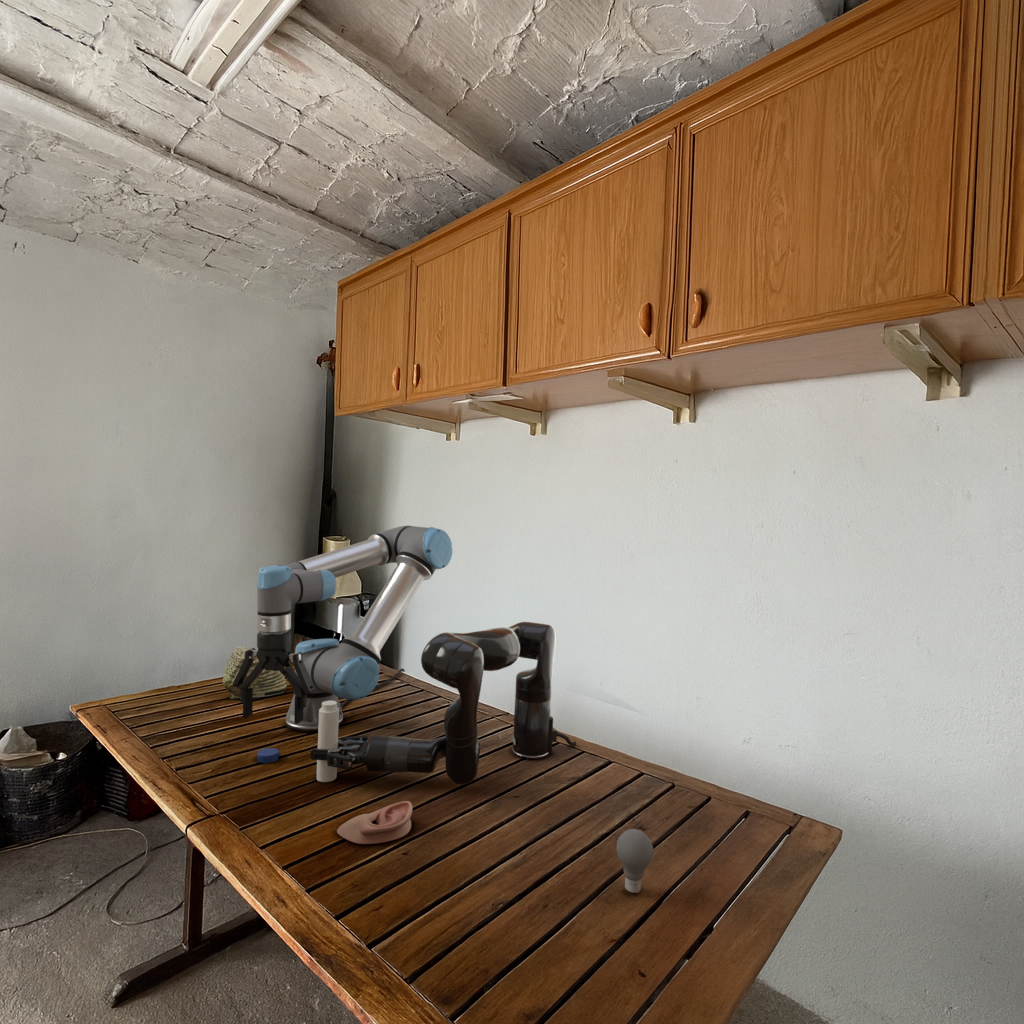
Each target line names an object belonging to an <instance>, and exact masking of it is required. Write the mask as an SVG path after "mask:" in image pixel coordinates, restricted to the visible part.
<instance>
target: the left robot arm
mask: <svg viewBox="0 0 1024 1024" xmlns="http://www.w3.org/2000/svg"><path fill="white" fill-rule="evenodd" d="M452 557H453V542H452V540H451V538H450V536H449V534H448V533H447V532H446V531H445V530H444V529H441V528H437V527H434V526H429V527H425V526H414V525H402V526H397V527H393V528H390V529H386V530H383V531H380V532H378V533H374V534H371V535H370V536H368V539H366V540H363V541H360V542H357V543H354V544H350V545H346V546H344V547H341V548H336V549H334V550H331V551H327V552H324V553H321V554H318V555H314V556H312V557H309V558H305V559H302V560H299V561H295V562H291V563H289V564H288V563H287V564H285V565H283V564H273V565H268V566H263V567H261V568H260V569H259V570H258V574H257V584H256V589H257V617H256V618H257V620H256V622H257V625H256V630H257V631H258V633H257V634H256V648H255V647H251V648H250V649H249V650H247V651H245V658H244V661H243V663H242V665H241V667H240V669H239V671H238V674H237V676H236V678H235V680H234V682H233V687H238V688H239V689H240V698H239V701H240V703H241V704H242V719H247V718H249V717H250V716H252V715H253V701H254V699H253V698H254V697H253V688H248V687H250V685H251V684H252V683H253V682H254V680H255V679H256V678H257V677H258V676H259V674H260V673H261V672H262V671H263V670H264V669H265V670H273V671H280V672H281V674H282V675H283V676H284V677H285V680H286V681H287V682H288V684H290V686H291V687H292V689H293V695H292V696H293V697H292V699H291V702H290V704H289V708H288V711H287V713H286V715H285V726H286V728H287V729H289V730H291V731H294V732H295V731H296V732H301V733H316V732H317V733H318V727H319V709H320V708H322V702H324V701H336V702H337V707H338V708H339V725H338V727H339V726H340V725H342V723H343V722H344V714H343V709H342V707H344V706H345V705H346V704H347V703H348V702H349V701H358V700H361V699H364V698H366V697H367V696H369V695H370V694H371V693H372V692H373V691H374V689H377V688H379V687H382V686H383V685H386V684H388V683H389V682H391V681H393V680H394V679H396V678H397V677H398V676H399V675H400V674H401V673H402V672H403V673H404V672H405V671H406V670H405V668H404V667H403V668H402V667H401V668H400V669H399V670H398V672H399V673H398V672H396V673H395V674H394V675H392V676H391V677H390V678H388V679H386V680H384V681H382V682H380V683H378V682H379V680H380V675H379V674H380V673H381V672H380V671H381V670H380V665H379V664H380V662H381V660H382V657H381V650H382V649H383V647H384V645H385V644H386V642H387V640H388V639H389V637H390V636H391V634H392V633H393V630H394V629H395V627H396V625H397V624H398V623H399V621H400V619H401V617H402V615H403V614H404V612H405V611H406V609H407V607H408V606H409V604H410V602H412V599H413V598H414V596H415V594H416V593H417V591H418V589H419V588H420V586H421V585H422V583H423V581H427V580H431V578H432V577H433V575H434V573H435V572H436V570H442V569H444V568H446V567H447V566H448V565H449V564H450V562H451V560H452ZM387 564H396V565H397V566H396V567H395V568H394V569H393V571H392V573H391V575H390V576H389V578H388V579H387V581H386V582H385V584H384V585H383V587H382V589H381V591H380V592H379V593H378V595H377V596H376V598H375V600H374V601H373V603H372V604H371V605H370V608H369V609H368V611H367V612H366V613H365V615H364V617H363V618H362V620H361V622H360V623H359V625H358V626H357V628H356V629H355V630H354V632H353V634H352V635H350V636H347V637H344V638H343V639H342V640H341V642H340V641H339V639H337V638H318V639H308V640H304V641H300V642H299V643H297V644H296V646H295V650H294V653H291V650H290V649H291V637H292V635H291V634H292V633H291V631H290V630H291V629H292V605H297V604H305V603H312V602H313V603H314V602H322V601H324V600H330V599H332V598H333V597H334V596H335V594H336V591H337V579H336V578H340V577H342V576H345V575H348V574H350V573H354V572H357V571H360V570H362V569H366V568H368V567H371V566H374V565H377V566H385V565H387ZM257 648H258V651H257V650H255V649H257ZM256 657H257V658H258V660H259V663H258V664H257V665H256V667H255V669H254V670H253V671H252V672H251V673H250V675H249V676H248V677H247V678H246V675H247V673H248V671H249V669H250V667H251V665H252V663H253V661H254V658H256ZM291 663H293V664H291ZM293 667H294V668H293ZM405 673H406V672H405ZM245 678H246V679H245ZM244 680H245V681H244ZM340 699H342V700H344V701H343V702H340Z"/></svg>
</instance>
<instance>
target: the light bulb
mask: <svg viewBox="0 0 1024 1024" xmlns="http://www.w3.org/2000/svg"><path fill="white" fill-rule="evenodd" d="M615 849H616V854H617V857H618V859H619V861H620V863H621V865H622V867H623V873H624V874H623V875H624V876H625V878H624V888H625V890H627V891H628V892H630V893H634V894H635V893H639V892H640V891H641V889H642V887H641V886H642V879H643V877H644V875H645V871H646V868H647V867H648V866H649V864H650V863H651V861H652V859H653V855H654V847H653V843H652V841H651V838H649V836H648V835H647V834H646V833H645V832H643V831H642V830H641V829H636V828H629V829H627V830H625V831H623V832H622V833H621V834H620V835H619V837H618V839H617V841H616V847H615Z"/></svg>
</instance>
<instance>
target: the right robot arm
mask: <svg viewBox="0 0 1024 1024" xmlns="http://www.w3.org/2000/svg"><path fill="white" fill-rule="evenodd" d="M556 645H557V634H556V629H555V627H554V626H553V625H551V624H547V623H540V622H531V621H520V622H517V623H515V624H513V625H510V626H507V627H506V626H505V627H504V626H502V627H493V628H488V629H484V630H477V631H471V632H441V633H439V634H437V635H435V636H433V637H432V638H431V639H430V640H429V641H428V642H427V643H426V645H425V647H424V648H423V650H422V654H421V658H420V663H421V667H422V670H423V671H424V672H425V674H427V676H429V677H430V678H432V679H434V680H435V681H438V682H440V683H441V684H444V685H446V686H448V687H450V688H453V689H455V690H457V692H458V694H459V695H458V697H457V698H455V699H454V700H453V701H452V702H451V703H450V704H449V705H448V706H447V708H446V711H445V713H444V717H443V727H444V736H442V737H441V736H440V737H436V738H431V739H423V738H410V737H405V736H391V735H376V734H375V735H372V736H370V738H369V737H368V735H354V736H342V737H341V739H340V738H338V749H332V750H329V749H318V748H312V749H311V751H310V759H311V760H312V761H313V760H314V761H317V760H327V762H328V763H327V765H328V766H331V767H336V768H337V769H341V770H345V771H351V770H353V765H361V764H364V765H365V766H366V770H367V771H369V772H377V773H378V772H380V773H394V774H395V773H396V774H397V773H398V774H400V773H418V774H420V773H421V774H431V773H433V772H434V771H435V769H436V767H437V765H438V763H439V761H440V760H442V759H444V758H445V773H446V775H447V777H448V779H449V780H450V781H452V782H453V783H454V784H457V785H467V784H469V783H472V782H473V781H474V780H475V779H476V777H477V774H478V771H479V763H480V754H481V743H480V741H479V739H478V735H479V731H478V729H479V728H478V706H479V702H480V701H479V700H480V695H481V691H482V682H483V676H484V672H497V671H499V670H503V669H506V668H509V667H511V666H512V665H513V664H515V663H516V662H517V660H518V658H522V659H527V660H535V661H536V666H535V667H533V668H529V669H524V670H521V671H519V672H518V673H517V674H516V676H515V692H514V713H513V733H512V734H511V742H512V748H511V751H512V754H514V755H515V756H517V757H519V758H521V759H525V760H526V759H527V760H539V759H545V758H546V757H548V756H550V755H553V754H552V753H553V743H556V742H557V740H558V737H559V738H562V739H563V740H565V742H566V744H568V745H569V746H571V747H574V746H576V745H577V742H576V741H572V740H571V739H570V738H569V736H567V735H566V734H563V733H561V732H559V731H558V730H557V729H556V728H555V727H554V717H553V716H552V715H551V709H552V708H551V707H552V685H553V678H554V677H553V676H554V668H555V667H554V666H555V665H554V664H555V654H556V647H557V646H556ZM368 738H369V739H368ZM335 753H337V754H335ZM335 762H336V763H335Z"/></svg>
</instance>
